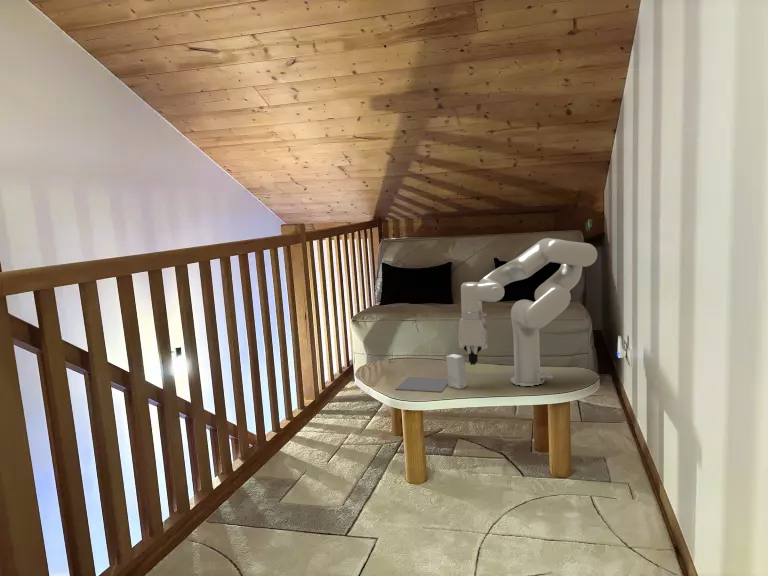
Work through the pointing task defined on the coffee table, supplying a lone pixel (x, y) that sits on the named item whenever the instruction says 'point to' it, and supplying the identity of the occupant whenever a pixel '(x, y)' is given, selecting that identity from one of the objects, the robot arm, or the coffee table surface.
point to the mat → (423, 384)
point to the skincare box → (456, 371)
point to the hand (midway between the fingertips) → (473, 363)
